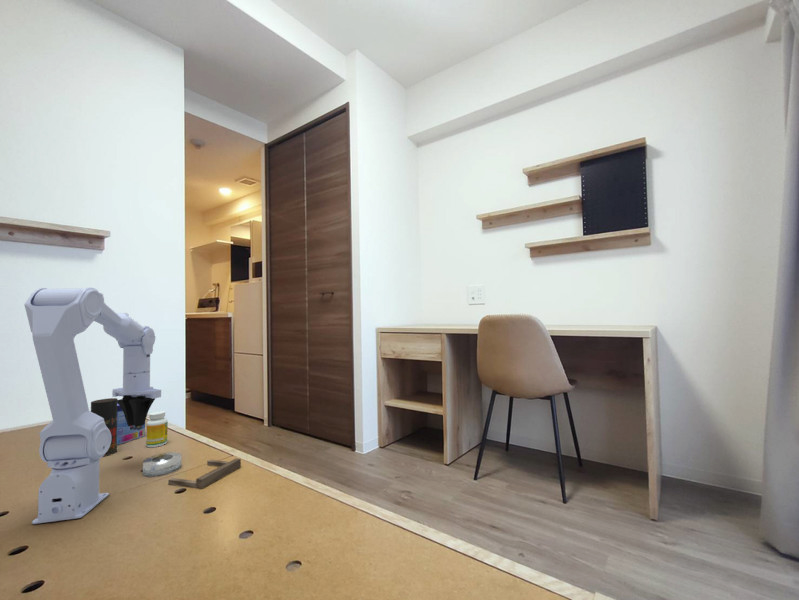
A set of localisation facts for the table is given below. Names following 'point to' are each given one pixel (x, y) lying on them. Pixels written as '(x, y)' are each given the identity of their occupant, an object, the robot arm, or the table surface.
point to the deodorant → (108, 419)
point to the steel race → (161, 464)
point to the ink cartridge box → (127, 429)
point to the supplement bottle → (156, 429)
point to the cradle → (209, 474)
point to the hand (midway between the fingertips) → (136, 425)
